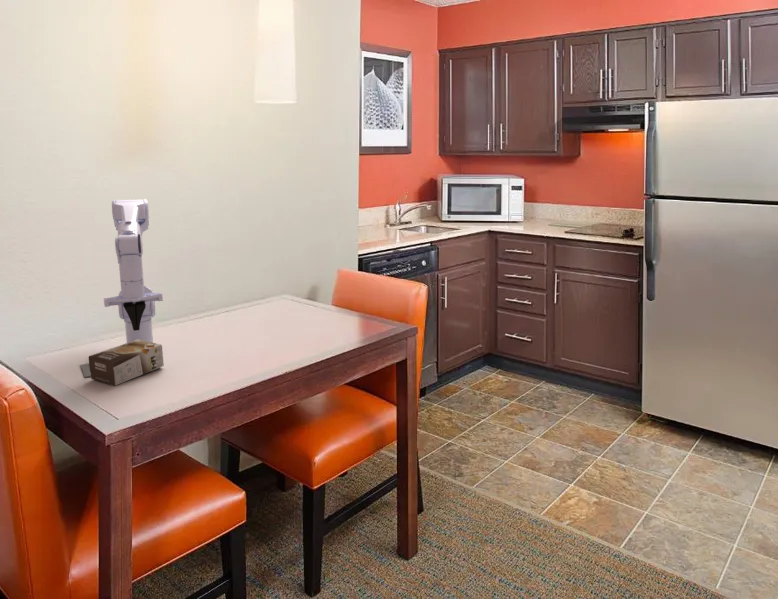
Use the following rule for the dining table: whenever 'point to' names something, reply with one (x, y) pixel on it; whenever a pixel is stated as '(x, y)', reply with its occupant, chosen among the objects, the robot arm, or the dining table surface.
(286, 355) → the dining table surface
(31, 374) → the dining table surface
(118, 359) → the coffee box
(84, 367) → the grey flat slab
